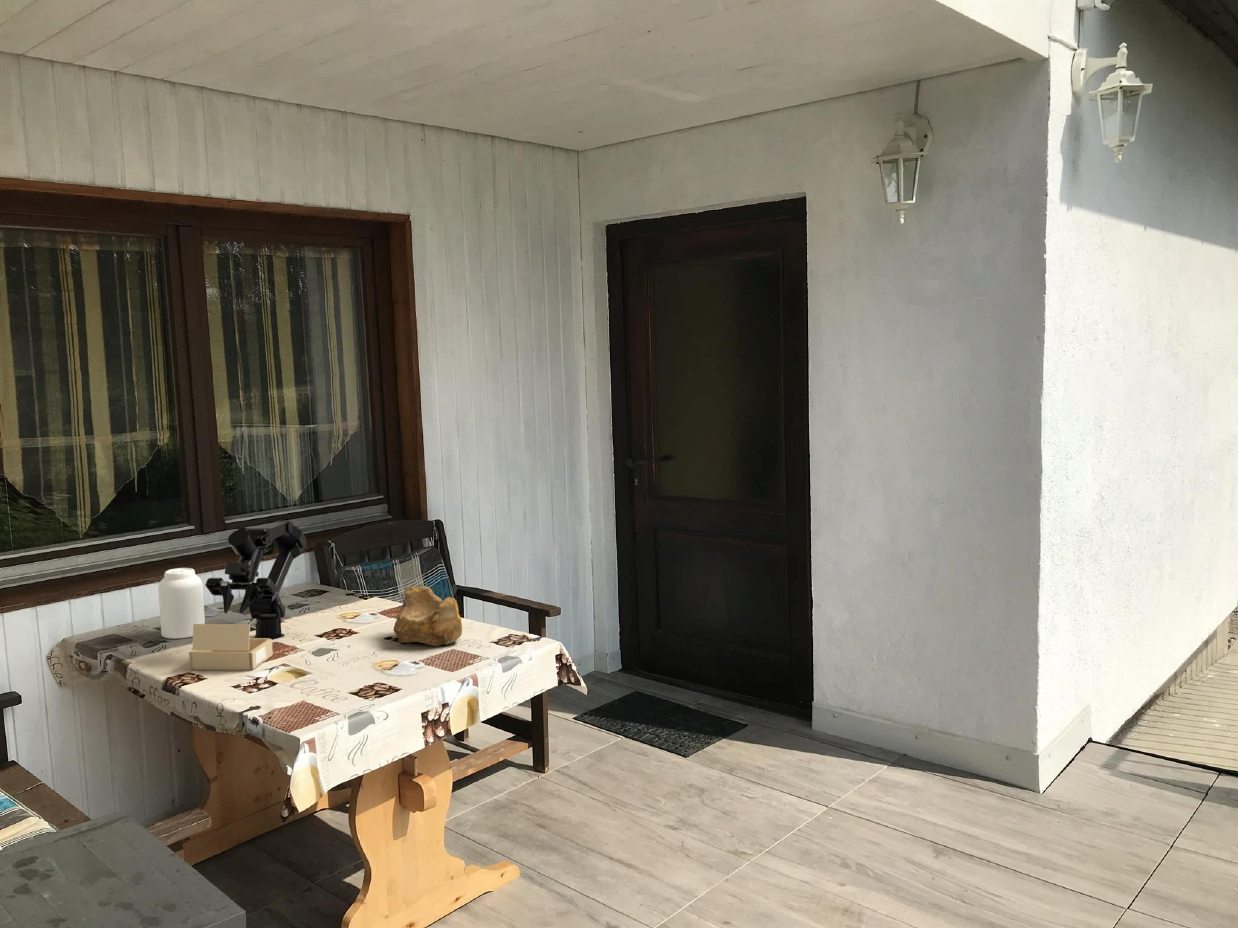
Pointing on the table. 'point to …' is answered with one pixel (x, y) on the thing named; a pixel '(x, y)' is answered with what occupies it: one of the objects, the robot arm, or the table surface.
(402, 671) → the table surface
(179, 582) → the white jar
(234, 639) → the flap
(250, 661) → the carton
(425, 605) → the rough brown rock
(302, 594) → the table surface
